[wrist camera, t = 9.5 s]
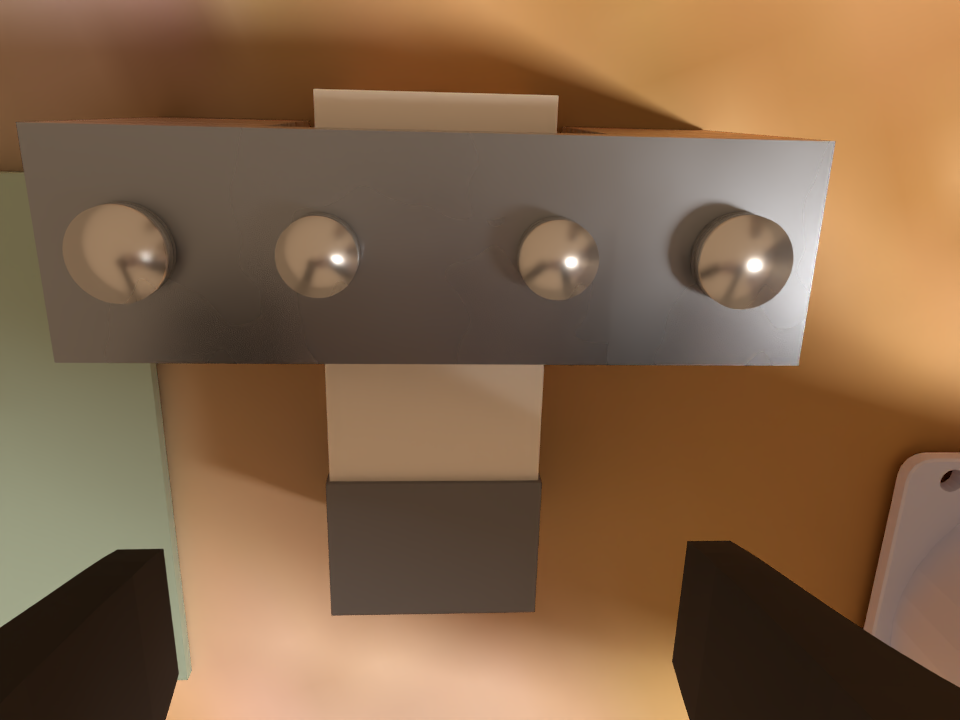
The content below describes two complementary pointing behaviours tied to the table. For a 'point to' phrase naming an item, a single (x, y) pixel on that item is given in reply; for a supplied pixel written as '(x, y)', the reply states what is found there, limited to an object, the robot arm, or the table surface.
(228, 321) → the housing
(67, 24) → the table surface
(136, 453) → the mat
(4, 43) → the table surface
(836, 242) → the table surface
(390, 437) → the plug
